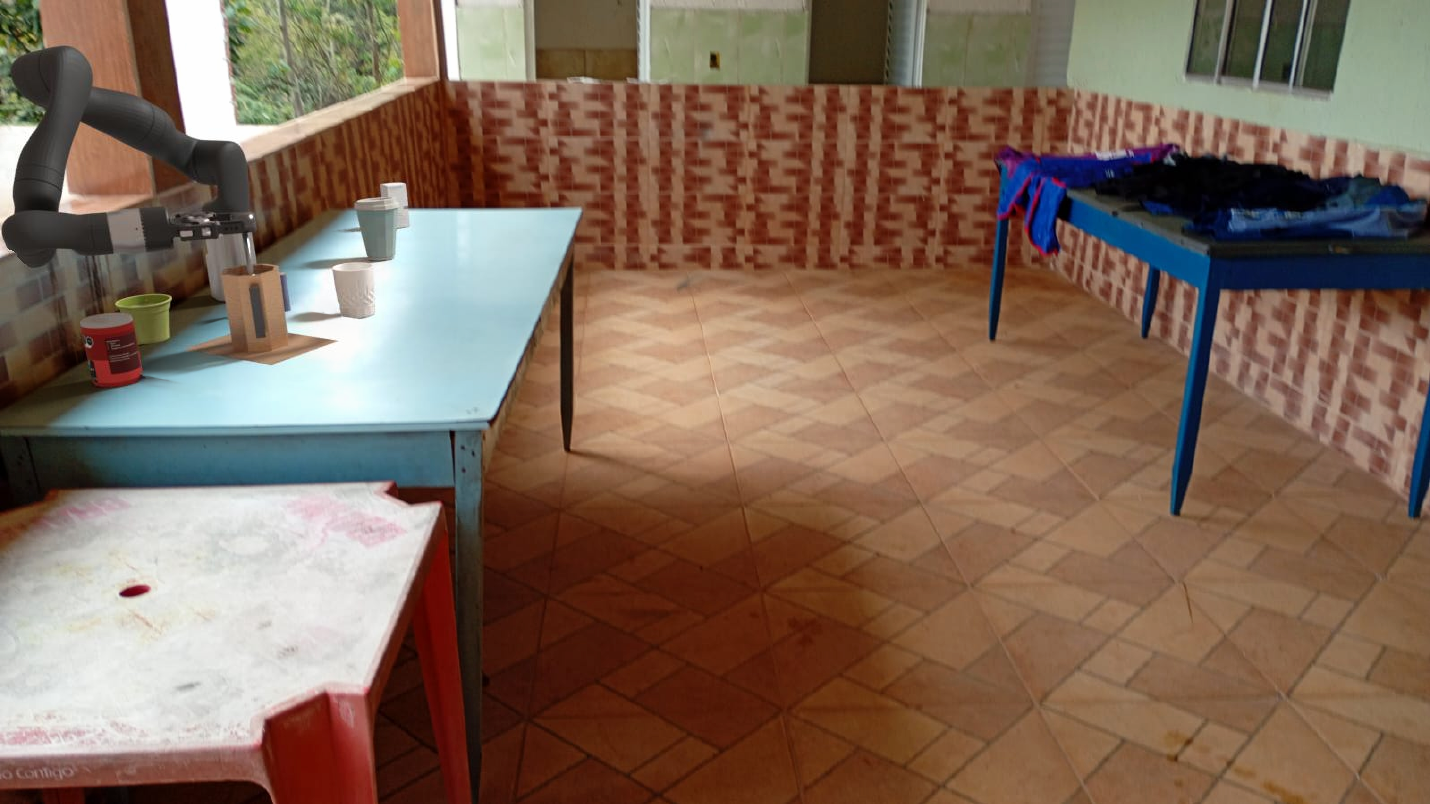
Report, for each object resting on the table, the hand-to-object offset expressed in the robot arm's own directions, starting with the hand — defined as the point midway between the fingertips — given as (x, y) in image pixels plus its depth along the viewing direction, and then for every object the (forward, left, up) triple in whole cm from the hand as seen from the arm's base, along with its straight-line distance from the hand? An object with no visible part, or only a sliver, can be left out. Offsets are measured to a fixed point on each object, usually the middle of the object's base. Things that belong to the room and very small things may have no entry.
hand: (242, 222), depth 200 cm
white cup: (-2, +27, -24) cm, 36 cm away
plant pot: (-22, -6, -24) cm, 33 cm away
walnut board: (0, 0, -24) cm, 24 cm away
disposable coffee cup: (-34, +70, -24) cm, 82 cm away
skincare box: (-58, +103, -24) cm, 121 cm away
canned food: (-9, -23, -24) cm, 34 cm away
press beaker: (0, 0, -23) cm, 23 cm away
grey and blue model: (-18, +19, -24) cm, 36 cm away
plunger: (0, 0, -21) cm, 21 cm away
